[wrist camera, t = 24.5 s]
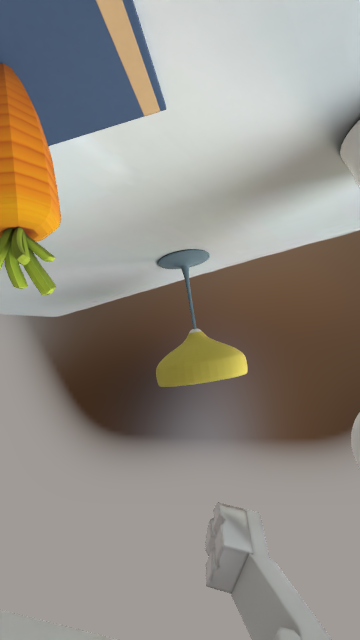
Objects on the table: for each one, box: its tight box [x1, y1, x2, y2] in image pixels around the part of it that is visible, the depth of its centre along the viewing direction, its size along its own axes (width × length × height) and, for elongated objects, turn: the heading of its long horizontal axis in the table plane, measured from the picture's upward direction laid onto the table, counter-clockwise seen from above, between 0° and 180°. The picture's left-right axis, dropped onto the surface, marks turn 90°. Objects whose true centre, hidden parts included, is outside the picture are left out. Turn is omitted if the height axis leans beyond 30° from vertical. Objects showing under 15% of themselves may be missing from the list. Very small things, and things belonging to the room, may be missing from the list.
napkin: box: [0, 0, 166, 146], centre depth 20 cm, size 18×14×1 cm
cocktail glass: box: [156, 250, 247, 387], centre depth 62 cm, size 18×18×25 cm
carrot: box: [0, 63, 61, 295], centre depth 18 cm, size 5×5×15 cm
